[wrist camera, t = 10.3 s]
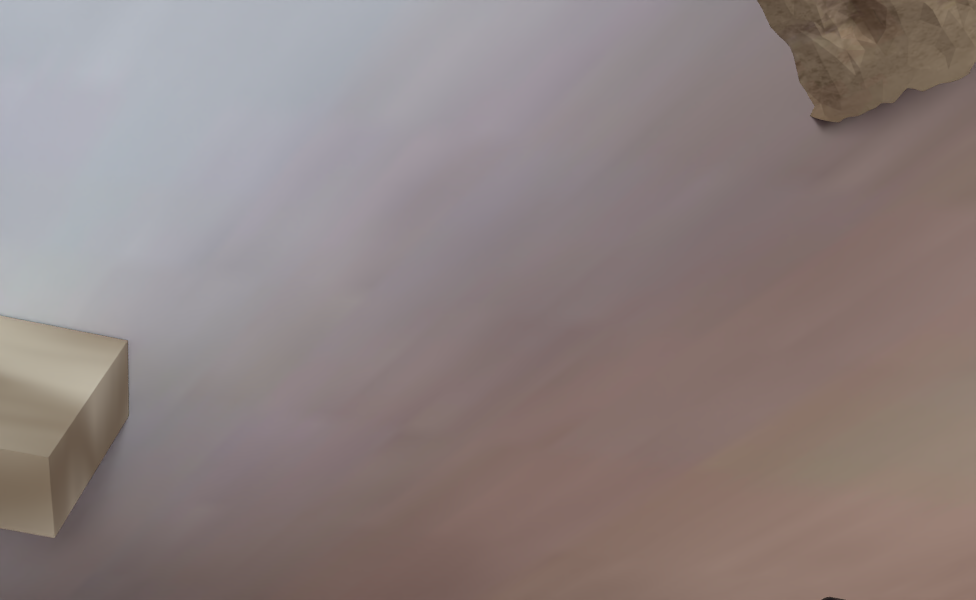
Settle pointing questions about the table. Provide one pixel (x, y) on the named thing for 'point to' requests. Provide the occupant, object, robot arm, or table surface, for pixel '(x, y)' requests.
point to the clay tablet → (873, 48)
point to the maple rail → (55, 418)
